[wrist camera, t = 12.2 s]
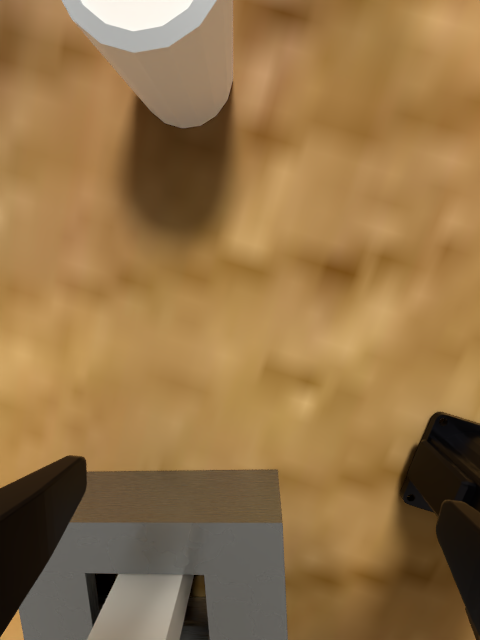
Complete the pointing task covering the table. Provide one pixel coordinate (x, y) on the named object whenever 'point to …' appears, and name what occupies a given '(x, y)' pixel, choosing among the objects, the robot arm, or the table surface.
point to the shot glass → (165, 52)
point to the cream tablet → (144, 608)
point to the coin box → (170, 552)
